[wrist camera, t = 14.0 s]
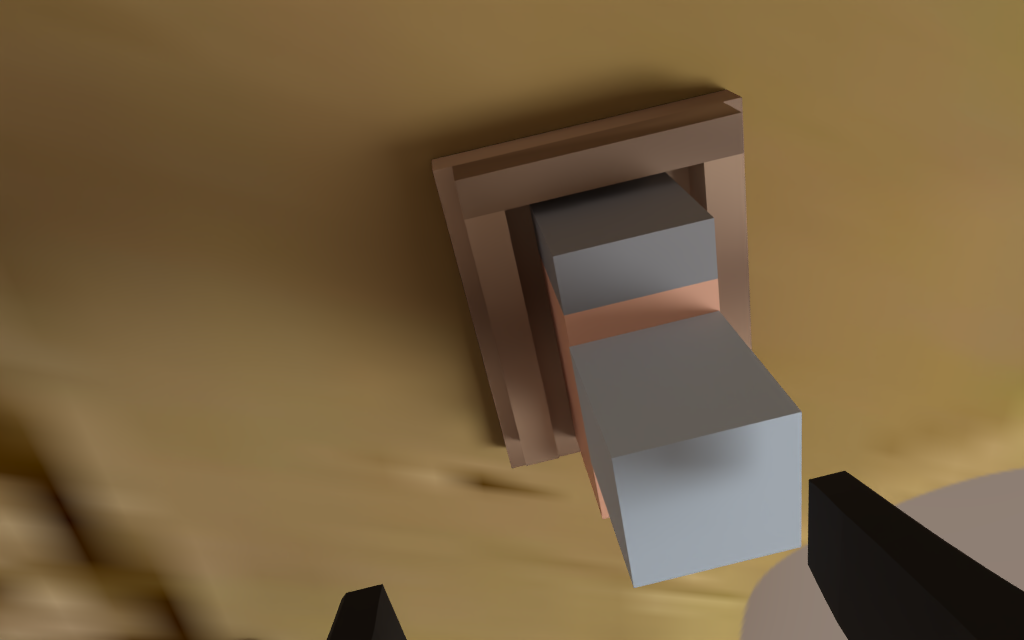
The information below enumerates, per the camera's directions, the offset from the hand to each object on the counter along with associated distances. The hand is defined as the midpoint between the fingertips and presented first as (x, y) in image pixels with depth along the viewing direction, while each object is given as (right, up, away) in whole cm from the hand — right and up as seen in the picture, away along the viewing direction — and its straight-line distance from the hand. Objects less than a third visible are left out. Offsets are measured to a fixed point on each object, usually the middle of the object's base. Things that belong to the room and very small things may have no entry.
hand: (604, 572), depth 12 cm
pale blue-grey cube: (+2, +2, +6) cm, 6 cm away
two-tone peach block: (+1, +4, +9) cm, 10 cm away
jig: (+1, +5, +9) cm, 11 cm away
